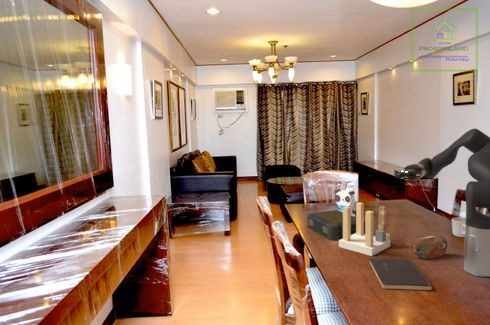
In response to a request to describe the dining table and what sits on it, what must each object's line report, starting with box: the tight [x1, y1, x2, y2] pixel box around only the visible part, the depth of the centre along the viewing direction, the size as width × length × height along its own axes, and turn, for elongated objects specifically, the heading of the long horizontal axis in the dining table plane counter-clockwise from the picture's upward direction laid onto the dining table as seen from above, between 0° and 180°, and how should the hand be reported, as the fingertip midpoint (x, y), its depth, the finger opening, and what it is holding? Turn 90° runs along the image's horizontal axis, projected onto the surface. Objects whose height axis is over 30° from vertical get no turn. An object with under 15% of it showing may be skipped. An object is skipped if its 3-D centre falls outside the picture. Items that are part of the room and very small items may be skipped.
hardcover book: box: [368, 257, 434, 291], centre depth 129 cm, size 16×23×2 cm
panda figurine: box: [333, 188, 356, 217], centre depth 211 cm, size 12×11×15 cm
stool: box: [338, 201, 391, 257], centre depth 158 cm, size 16×18×18 cm
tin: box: [412, 235, 448, 260], centre depth 145 cm, size 15×3×8 cm, turn 105°
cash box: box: [306, 209, 365, 241], centre depth 182 cm, size 25×20×8 cm
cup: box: [451, 216, 466, 238], centre depth 167 cm, size 11×8×8 cm
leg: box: [377, 205, 387, 241], centre depth 157 cm, size 2×2×15 cm
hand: (398, 176), depth 164 cm, fingers closed
